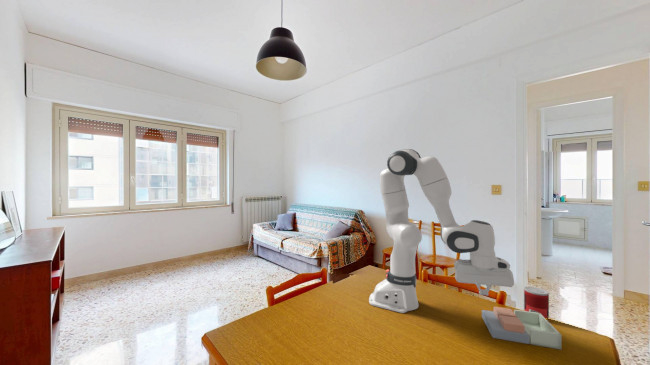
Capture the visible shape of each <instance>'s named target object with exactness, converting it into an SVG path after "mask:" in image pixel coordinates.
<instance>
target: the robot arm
mask: <svg viewBox="0 0 650 365" xmlns="http://www.w3.org/2000/svg"><path fill="white" fill-rule="evenodd" d="M386 163H387V164H386V166H387V168H385V169H383V170H382V171H381V172H379V173H380V174H379V187H380V188H379V189H380V193H381V198H382V200H383V206H384V212H385V224H386V225H385V228H386V233H387V234H388V236H389V237H390V238H391V239H392V240H393V246H392V251H391V254H390V258H389V259H390V261H389V262H390V266H389V267H390V268H389V269H386V270H385V278H384V279H383V280H382V281H380V282H378V283H377V284H376V285H375V287H374V290H373V292H372V293H370V295H369V298H368V303H369V304H370V305H371V306H373V307H377V308H381V309H385V310H389V311H393V312H396V313H397V312H398V313H400V314H401V313H402V314H405V313H407V312H410V311H413V310H417V309H418V308H419V306H420V304H419V302H418V301H419V300H418V297H417V291H416V290H417V289H416V287H417V275H416V254H417V250H418V246H419V245H420V244H421V241H422V239H423V238H422V237H423V234H422V231H421V229H419V227H418V226H416V224H415V223H413V222H411V221H410V220H409V207H410V203H409V198H408V194H407V189H406V186H405V181H404V180H405V176H413V175H414V176H415V177H416V178H417V180H418V184H419V185H420V188H421V190H422V192H423V194H424V196H425V197H426V199H427V201H428V202H429V203H430V204H431V206H432V207H433V209H434V211H435V214H436V216H437V219H438V221H439V225H440V239H441V241H442V242H443V243H444V244H445V245H446V246H447V247H448V249H449V250H451V251H452V252H454V253H456V254H465V253H469V259H462V258H461V259H460V258H459V259H457V260H455V261H454V264H453V266H454V267H453V268H454V270H455V271H454V272H455V273H454V278H455V280H456V282H458V283H461V284H462V283H463V284H471V285H472V284H474V285H476V287H477V289H478V293H479V294H478V295H479V296H487V297H488V296H489V292H490V290H491V289H492V286H495V287H496V286H498V287H508V288H513V287H514V285H515V279H514V274H513V271H512V269H511V265H510V263H509V262H508V261H507V260H506V259H504V258H502V257H499V256H496V252H495V245H496V236H495V232H494V227H493V225H492V224H491V223H489V222H487V221H483V220H478V219H477V220H476V219H475V220H474V219H473V220H470V221H469V222H468V223H466V224H464V225H462V226H460V225H459V224H458V223H457V222H456V220H455V216H454V214H453V212H452V209H451V206H450V198H451V196H452V189H451V188H452V186H451V183H450V181H449V179H448V178H449V177H448V176H447V173H446V171H445V170H444V168H443V166H442V164H441V163H440V161H439V159H438V158H437V157H435V156H433V155H432V156H430V155H429V156H424V157H421V154H420V153H419V152H417V151H416V150H414V149H411V148H408V149H407V148H403V149H400V150H395V151H394V152H393V153H391V154H390V155H389V157H388V158H387V161H386ZM482 285H483V286H484V285H485V286H486V287H485V288H484V289H482V288H481V286H482Z"/></svg>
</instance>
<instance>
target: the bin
mask: <svg viewBox="0 0 650 365" xmlns="http://www.w3.org/2000/svg"><path fill="white" fill-rule="evenodd" d="M513 312H514V313H515V315H516V316H517V318H519V320H520V321H521V322H522V324H523V325H524V326H525V331H526V332H527V333H528V334H529V344H530V345H531V346H538V347H543V348H545V347H546V348H551V349H556V350H562V334H561V333H560V331H558V330H557V329H556V327H555V326H553V324H552V323H551V322H549V320H546V319H545V318H544V317H543V316H542V315H541V314H540V313H536V312H528V311H524V310H520V309H513Z"/></svg>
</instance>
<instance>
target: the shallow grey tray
mask: <svg viewBox="0 0 650 365" xmlns="http://www.w3.org/2000/svg"><path fill="white" fill-rule="evenodd" d="M481 318H482V320H483V322H484V325H485V326H486V327H487V329H488V332H489V334H490V335H491V337H492V338H493V339H497V340H498V339H499V340H504V341H508V342H509V341H510V342H515V343H522V344H527V345H529V344H530V343H529V334H528V333H527V332H526V331H525V333H520V332H514V331H508V330H504V328H503V327H502V325H501V323H500V322H499V320H498V319H497V317H496V315H495V314H494V310H485V309H482V310H481Z"/></svg>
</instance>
